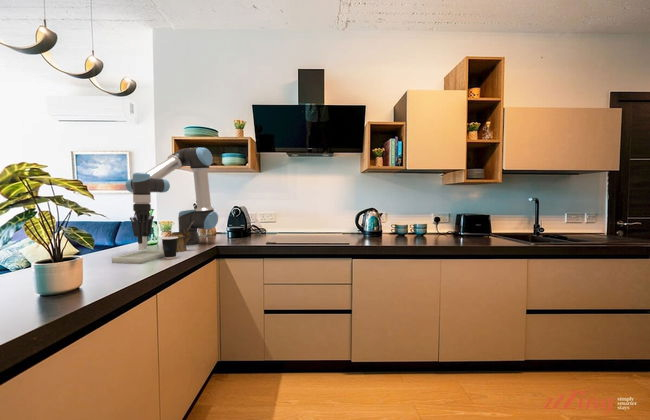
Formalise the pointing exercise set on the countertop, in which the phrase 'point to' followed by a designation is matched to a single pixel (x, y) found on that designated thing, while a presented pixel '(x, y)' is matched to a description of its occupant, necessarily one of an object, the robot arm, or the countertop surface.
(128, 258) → the sage tray
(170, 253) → the dixie cup
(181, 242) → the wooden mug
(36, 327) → the countertop surface
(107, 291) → the countertop surface
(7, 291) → the countertop surface
